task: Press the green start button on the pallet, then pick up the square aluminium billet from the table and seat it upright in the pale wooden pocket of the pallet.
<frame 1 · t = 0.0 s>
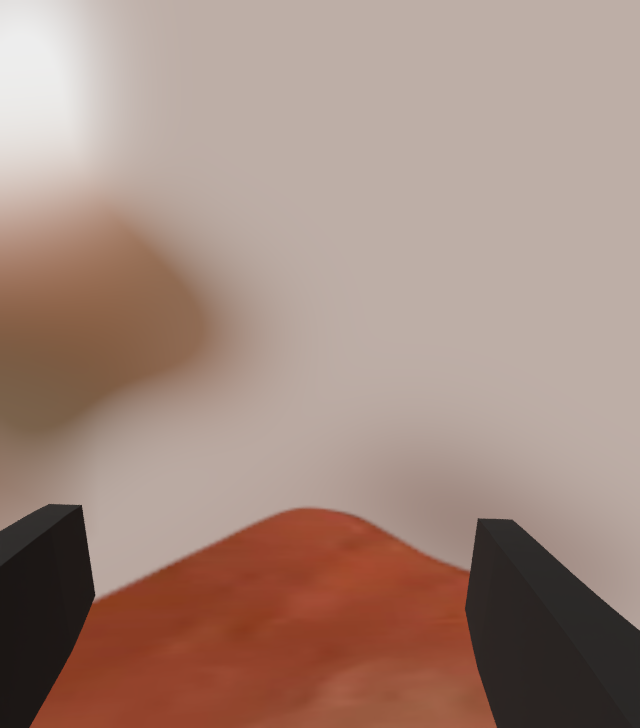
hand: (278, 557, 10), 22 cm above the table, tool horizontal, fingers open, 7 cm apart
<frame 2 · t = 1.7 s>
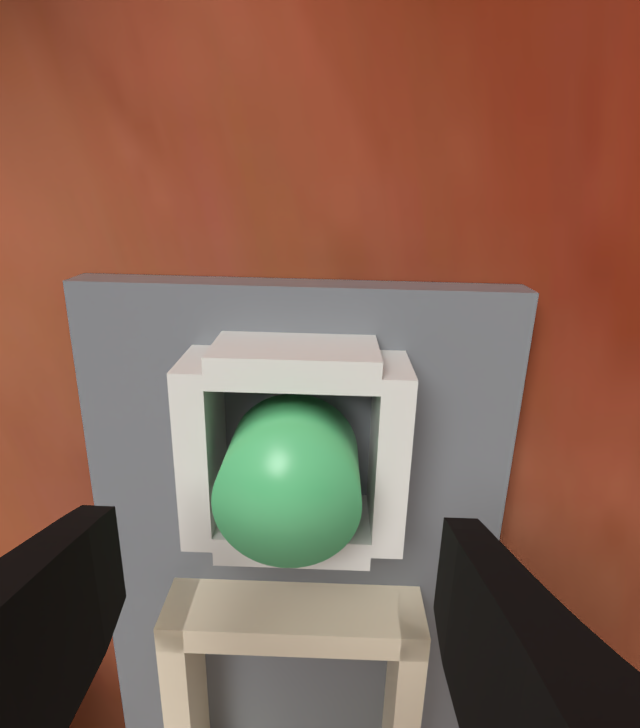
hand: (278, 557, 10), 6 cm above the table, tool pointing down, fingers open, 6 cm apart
pallet: (299, 550, 17), on the table
start button: (290, 476, 12), point 4 cm above the table, slide at 0.0 cm
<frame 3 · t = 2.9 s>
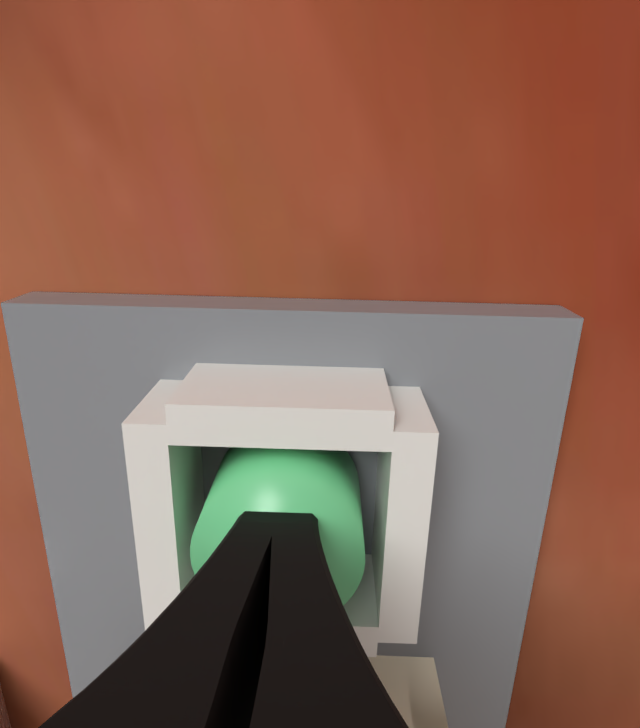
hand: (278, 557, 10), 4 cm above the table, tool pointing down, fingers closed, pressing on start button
pallet: (292, 610, 15), on the table
start button: (283, 519, 11), point 3 cm above the table, slide at 0.9 cm, touching gripper
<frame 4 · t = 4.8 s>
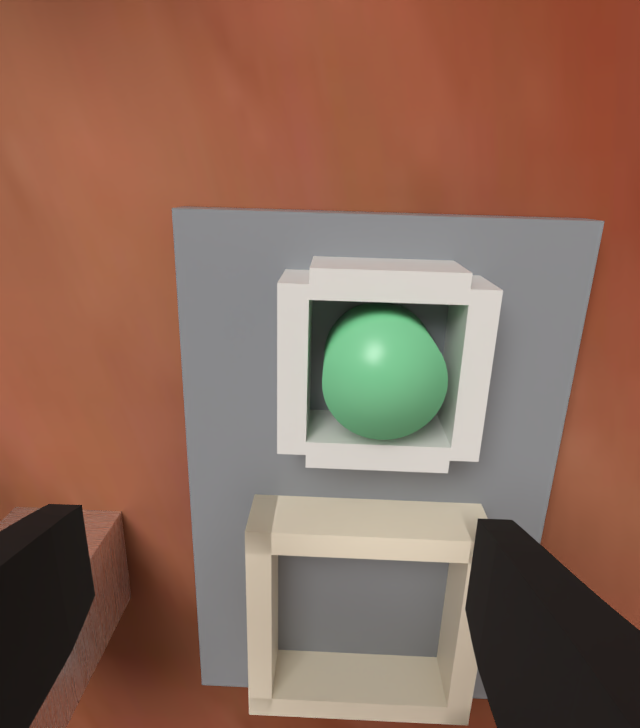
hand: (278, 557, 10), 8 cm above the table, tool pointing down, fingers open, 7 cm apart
pallet: (365, 474, 19), on the table
billet: (75, 553, 20), on the table
start button: (381, 367, 14), point 3 cm above the table, slide at 0.9 cm
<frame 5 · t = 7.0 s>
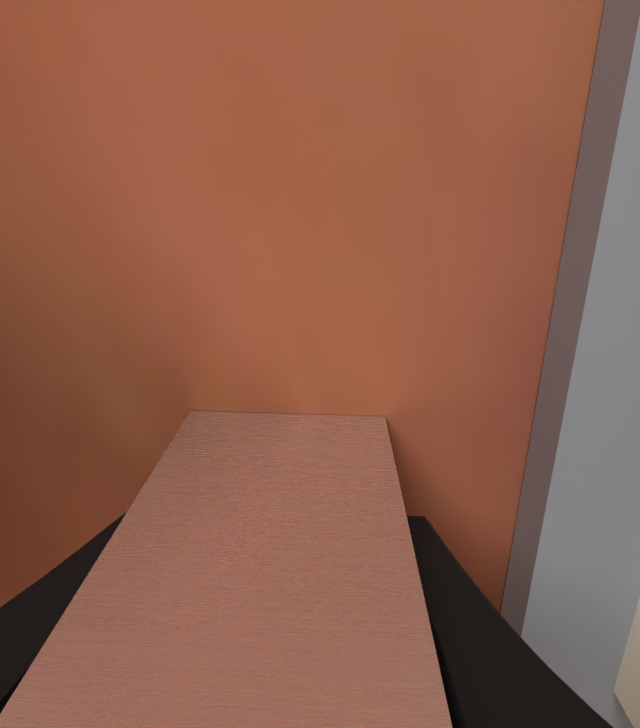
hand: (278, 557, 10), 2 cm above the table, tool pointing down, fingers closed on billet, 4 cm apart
billet: (287, 497, 11), on the table, touching gripper
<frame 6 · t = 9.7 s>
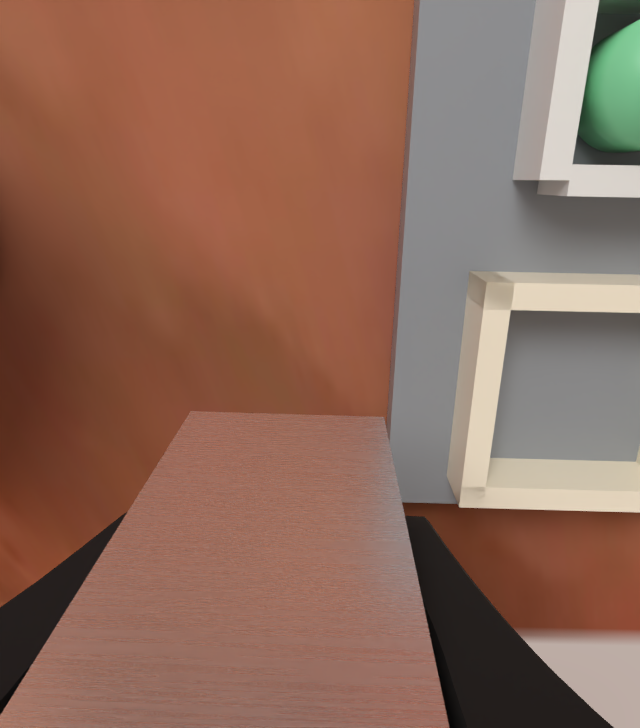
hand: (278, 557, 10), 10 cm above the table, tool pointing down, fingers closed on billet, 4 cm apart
pallet: (572, 261, 18), on the table
billet: (286, 497, 11), point 8 cm above the table, touching gripper
when the fingers open (4 cm above the table, at t = 12.4 s): billet stays where it is, resting on pallet.
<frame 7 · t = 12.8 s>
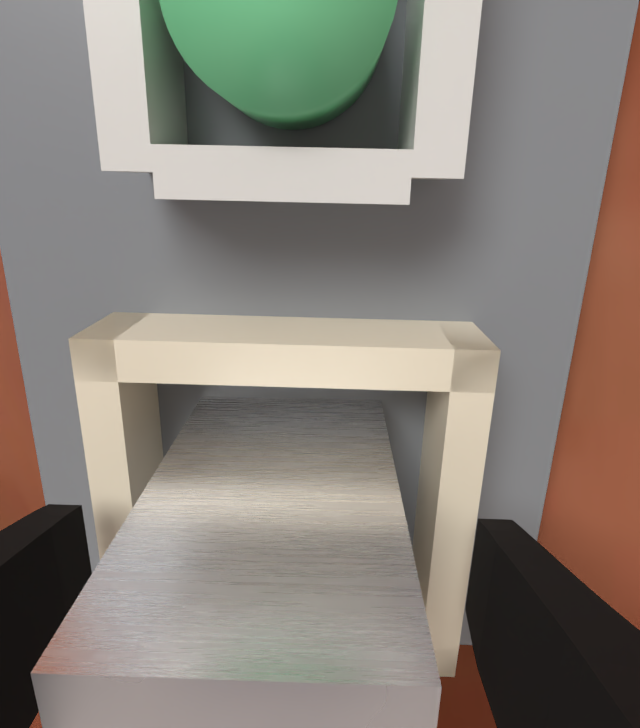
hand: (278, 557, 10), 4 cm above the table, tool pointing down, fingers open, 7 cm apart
pallet: (295, 295, 12), on the table
billet: (291, 476, 12), point 1 cm above the table, touching pallet
start button: (285, 7, 8), point 3 cm above the table, slide at 0.9 cm
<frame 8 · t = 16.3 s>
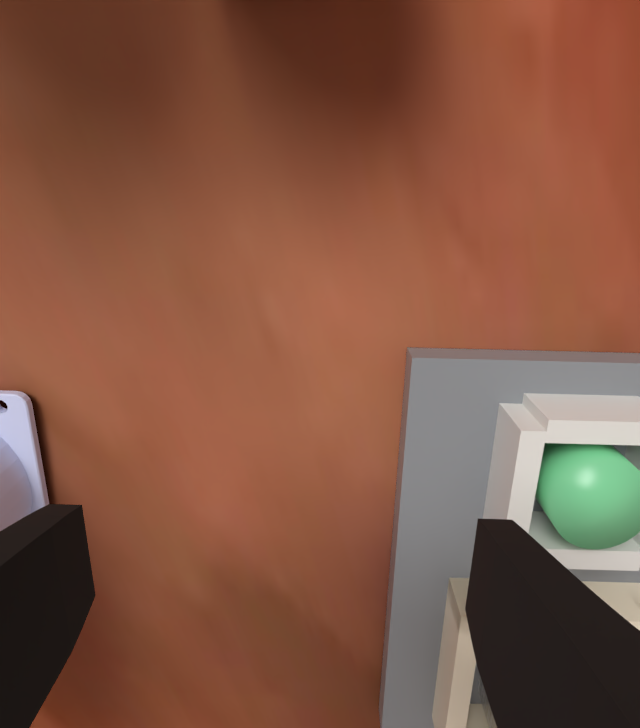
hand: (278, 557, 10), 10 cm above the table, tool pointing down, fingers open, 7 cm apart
pallet: (534, 555, 22), on the table
billet: (529, 654, 22), point 1 cm above the table, touching pallet
start button: (585, 487, 18), point 3 cm above the table, slide at 0.9 cm
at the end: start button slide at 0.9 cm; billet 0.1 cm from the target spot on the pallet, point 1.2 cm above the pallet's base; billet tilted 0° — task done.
